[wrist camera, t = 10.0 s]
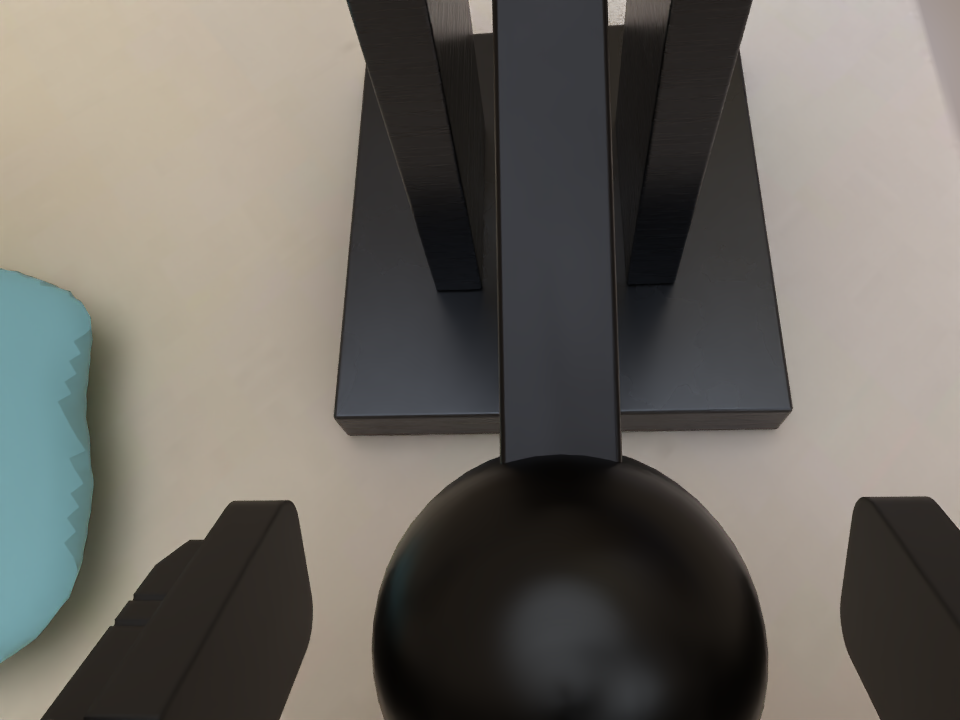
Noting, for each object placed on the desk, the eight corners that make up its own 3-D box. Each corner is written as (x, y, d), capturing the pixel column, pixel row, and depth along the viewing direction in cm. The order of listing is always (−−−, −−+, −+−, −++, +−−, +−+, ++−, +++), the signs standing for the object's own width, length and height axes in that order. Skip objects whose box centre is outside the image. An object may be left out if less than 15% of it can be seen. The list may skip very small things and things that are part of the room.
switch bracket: (778, 429, 16) (1363, -280, 4) (347, 436, 17) (-137, -143, 5) (725, 53, 20) (960, -858, 8) (377, 74, 21) (140, -727, 9)
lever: (727, 763, 9) (845, 985, 5) (411, 755, 9) (321, 959, 6) (681, -309, 10) (750, -715, 7) (405, -281, 10) (328, -652, 7)
